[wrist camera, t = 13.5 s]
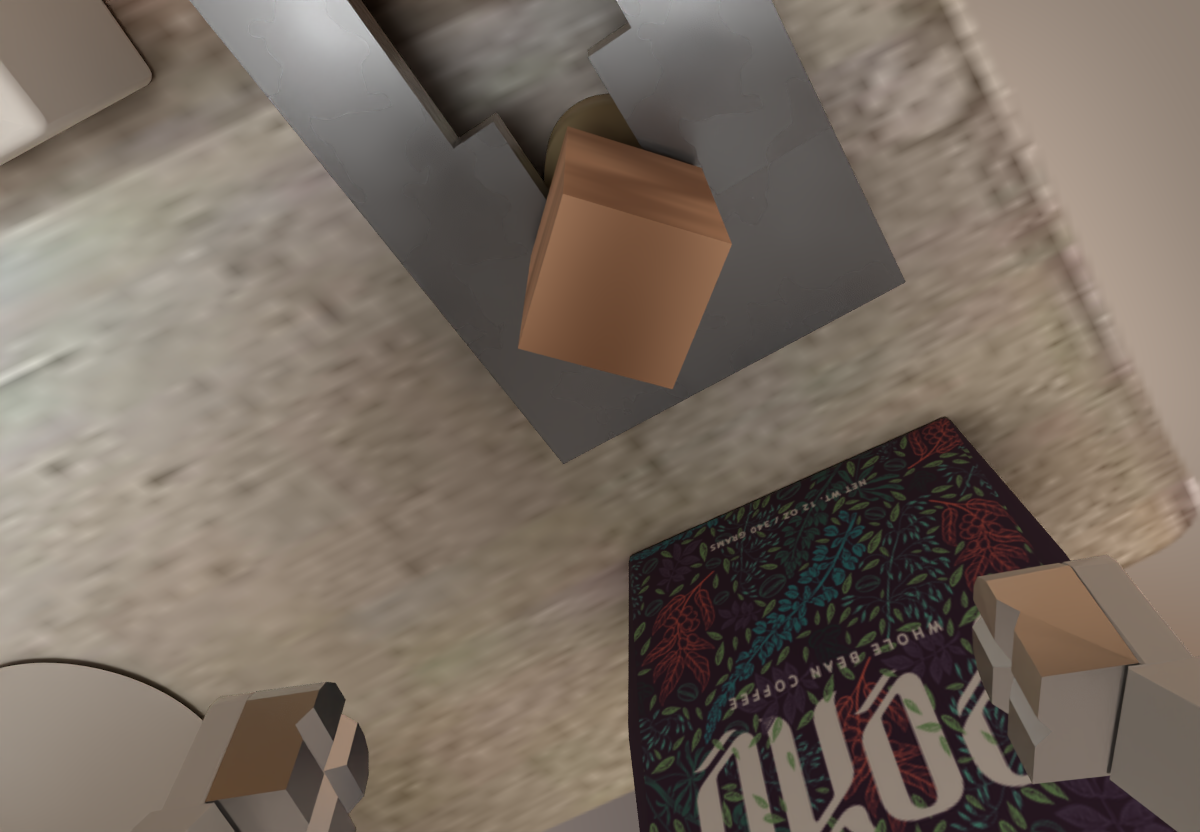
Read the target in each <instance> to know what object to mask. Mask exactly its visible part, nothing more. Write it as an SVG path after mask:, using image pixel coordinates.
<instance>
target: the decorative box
mask: <svg viewBox="0 0 1200 832" xmlns="http://www.w3.org/2000/svg"><path fill="white" fill-rule="evenodd" d="M1067 561H1070V559H1069V558H1068V557H1067V555H1066V554H1065V553H1064V551H1063V550H1062V549H1061V548H1060V547H1059V546H1058V545H1057V543H1056V542H1055V541H1054V540H1053V539H1052V538H1051V536H1050V535H1049V534H1048V533H1047V532H1046V531H1045V529H1044V528H1043V527H1042V526H1041V525H1040V524H1039V522H1038V521H1037V520H1036V519H1035V518H1034V517H1033V516H1032V514H1031V513H1030V512H1029V511H1028V510H1027V509H1026V507H1025V506H1024V505H1023V504H1022V503H1021V502H1020V500H1019V499H1018V498H1017V497H1016V496H1015V495H1014V494H1013V492H1012V491H1011V490H1010V489H1009V488H1008V487H1007V485H1006V484H1005V483H1004V482H1003V481H1002V480H1001V478H1000V477H999V476H998V475H997V474H996V473H995V472H994V470H993V469H992V468H991V467H990V466H989V465H988V463H987V462H986V461H985V460H984V459H983V458H982V456H981V455H980V454H979V453H978V452H977V451H976V450H975V448H974V447H973V446H972V445H971V444H970V443H969V441H968V440H967V439H966V438H965V437H964V436H963V434H962V433H961V432H960V431H959V430H958V429H957V427H956V426H955V425H954V424H953V423H952V422H951V421H950V420H949V419H947V418H942V419H939V420H937V421H935V422H932V423H930V424H928V425H926V426H923V427H921V428H919V429H917V430H914V431H912V432H910V433H908V434H905V435H903V436H901V437H899V438H896V439H894V440H892V441H890V442H887V443H885V444H883V445H880V446H878V447H876V448H874V449H871V450H869V451H867V452H865V453H862V454H860V455H858V456H856V457H853V458H851V459H849V460H847V461H844V462H842V463H840V464H838V465H835V466H833V467H831V468H828V469H826V470H824V471H822V472H819V473H817V474H815V475H813V476H810V477H808V478H806V479H804V480H801V481H799V482H797V483H795V484H792V485H790V486H788V487H786V488H783V489H781V490H779V491H777V492H774V493H772V494H770V495H767V496H765V497H763V498H761V499H758V500H756V501H754V502H752V503H749V504H747V505H745V506H743V507H740V508H738V509H736V510H734V511H731V512H729V513H727V514H725V515H722V516H720V517H718V518H715V519H713V520H711V521H709V522H706V523H704V524H702V525H700V526H697V527H695V528H693V529H691V530H688V531H686V532H684V533H682V534H679V535H677V536H675V537H673V538H670V539H668V540H666V541H663V542H661V543H659V544H657V545H654V546H652V547H650V548H648V549H645V550H643V551H641V552H639V553H636V554H634V555H632V556H631V557H630V560H629V684H628V728H629V743H630V751H631V760H632V768H633V777H634V785H635V794H636V802H637V811H638V819H639V828H640V832H1177V831H1176V830H1175V829H1173V828H1172V827H1171V826H1169V825H1168V824H1167V823H1165V822H1164V821H1163V820H1162V819H1160V818H1159V817H1158V816H1156V815H1155V814H1154V813H1153V812H1151V811H1150V810H1149V809H1147V808H1146V807H1145V806H1143V805H1142V804H1141V803H1140V802H1138V801H1137V800H1136V799H1134V798H1133V797H1132V796H1131V795H1129V794H1128V793H1127V792H1125V791H1124V790H1123V789H1121V788H1120V787H1119V786H1118V785H1116V784H1115V783H1114V782H1112V781H1111V780H1110V776H1102V777H1092V778H1083V779H1074V780H1065V781H1056V782H1047V783H1038V784H1032V782H1031V780H1030V778H1029V776H1028V774H1027V773H1026V771H1025V769H1024V767H1023V765H1022V763H1021V761H1020V759H1019V757H1018V755H1017V753H1016V751H1015V749H1014V747H1013V745H1012V743H1011V741H1010V739H1009V737H1008V715H1009V714H1007V713H1006V712H1004V711H1003V710H1001V709H1000V708H998V707H996V706H995V705H993V704H992V703H991V701H990V699H989V696H988V694H987V692H986V690H985V688H984V686H983V683H982V681H981V678H980V675H979V672H978V670H977V665H976V660H975V655H974V650H973V626H974V625H975V623H976V622H977V621H978V620H979V619H980V618H981V614H980V612H979V610H978V608H977V607H976V605H975V603H974V601H973V594H974V584H975V581H976V579H977V577H979V576H984V575H990V574H996V573H1002V572H1008V571H1014V570H1020V569H1025V568H1031V567H1037V566H1043V565H1049V564H1055V563H1061V564H1062V563H1063V562H1067Z"/></svg>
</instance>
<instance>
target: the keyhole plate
mask: <svg viewBox="0 0 1200 832" xmlns="http://www.w3.org/2000/svg"><path fill="white" fill-rule="evenodd" d="M616 1H617V3H618V5H619V7H620V8H621V10H622V12H623V14H624V15H625V17H626V19H627V21H628V23H626V24H625V25H624V26H622V27H621V28H619V29H618V30H616V31H615V32H613V33H612V34H610V35H609V36H607V37H606V38H605V39H603V40H602V41H600V42H599V43H597V44H596V45H594V46H593V47H591V48H590V49H588V59H589V60H590V62H591V64H592V65H593V67H594V69H595V70H596V72H597V74H598V75H599V77H600V79H601V80H602V82H603V84H604V85H605V87H606V89H607V90H608V92H609V94H610V95H611V97H612V99H613V100H614V102H615V104H616V105H617V107H618V109H619V110H620V112H621V114H622V115H623V117H624V119H625V120H626V122H627V124H628V125H629V127H630V129H631V130H632V132H633V134H634V135H635V137H636V139H637V140H638V142H639V144H640V145H641V147H642V149H643V150H646V151H649V152H652V153H655V154H658V155H662V156H665V157H668V158H671V159H675V160H678V161H681V162H684V163H687V164H691V165H694V166H697V167H700V168H702V170H703V172H704V175H705V177H706V180H707V182H708V185H709V188H710V190H711V193H712V195H713V198H714V200H715V203H716V205H717V208H718V210H719V213H720V215H721V218H722V220H723V223H724V225H725V228H726V230H727V233H728V235H729V238H730V240H731V243H732V245H731V248H730V250H729V253H728V255H727V257H726V260H725V262H724V265H723V267H722V270H721V272H720V275H719V277H718V280H717V282H716V284H715V287H714V289H713V292H712V294H711V297H710V299H709V302H708V304H707V306H706V309H705V311H704V314H703V316H702V319H701V321H700V324H699V326H698V328H697V331H696V333H695V336H694V338H693V341H692V343H691V346H690V348H689V350H688V353H687V355H686V358H685V360H684V363H683V365H682V368H681V370H680V372H679V375H678V377H677V380H676V382H675V385H674V387H673V389H670V388H666V387H662V386H658V385H654V384H651V383H647V382H643V381H639V380H635V379H632V378H628V377H624V376H620V375H616V374H613V373H609V372H605V371H601V370H598V369H594V368H590V367H586V366H582V365H579V364H575V363H571V362H567V361H563V360H560V359H556V358H552V357H548V356H544V355H541V354H537V353H533V352H529V351H525V350H522V349H518V344H519V337H520V330H521V323H522V316H523V309H524V301H525V294H526V287H527V280H528V273H529V266H530V259H531V254H532V250H533V247H534V243H535V240H536V236H537V232H538V229H539V225H540V222H541V218H542V215H543V211H544V208H545V204H546V201H547V197H548V194H549V189H548V187H547V186H546V185H545V183H544V182H543V180H542V179H541V177H540V176H539V174H538V173H537V171H536V170H535V168H534V167H533V165H532V164H531V162H530V161H529V159H528V158H527V156H526V155H525V153H524V152H523V150H522V149H521V147H520V146H519V144H518V143H517V142H516V140H515V139H514V137H513V136H512V134H511V133H510V131H509V130H508V128H507V127H506V125H505V124H504V122H503V121H502V119H501V118H500V116H499V115H498V113H497V112H496V113H495V114H493V115H492V116H490V117H489V118H487V119H486V120H484V121H483V122H481V123H480V124H478V125H477V126H476V127H474V128H473V129H471V130H470V131H468V132H467V133H465V134H464V135H462V136H461V137H459V138H458V136H457V135H456V133H455V132H454V131H453V129H452V128H451V126H450V125H449V123H448V122H447V121H446V119H445V118H444V116H443V115H442V114H441V112H440V111H439V109H438V108H437V107H436V105H435V104H434V102H433V101H432V99H431V98H430V97H429V95H428V94H427V92H426V91H425V90H424V88H423V87H422V85H421V84H420V83H419V81H418V80H417V78H416V77H415V75H414V74H413V73H412V71H411V70H410V68H409V67H408V66H407V64H406V63H405V61H404V60H403V59H402V57H401V56H400V54H399V53H398V51H397V50H396V49H395V47H394V46H393V44H392V43H391V42H390V40H389V39H388V37H387V36H386V35H385V33H384V32H383V30H382V29H381V27H380V26H379V25H378V23H377V22H376V20H375V19H374V18H373V16H372V15H371V13H370V12H369V11H368V9H367V8H366V6H365V5H364V4H363V2H362V1H361V0H190V2H191V3H192V4H193V5H194V6H195V8H196V9H197V10H198V11H199V13H200V14H201V15H202V16H203V18H204V19H205V20H206V21H207V23H208V24H209V25H210V26H211V28H212V29H213V30H214V31H215V33H216V34H217V35H218V36H219V38H220V39H221V40H222V41H223V42H224V44H225V45H226V46H227V47H228V49H229V50H230V51H231V52H232V54H233V55H234V56H235V57H236V59H237V60H238V61H239V62H240V64H241V65H242V66H243V67H244V69H245V70H246V71H247V72H248V74H249V75H250V76H251V77H252V78H253V80H254V81H255V82H256V83H257V85H258V86H259V87H260V88H261V90H262V91H263V92H264V93H265V95H266V96H267V97H268V98H269V100H270V101H271V102H272V103H273V105H274V106H275V107H276V108H277V109H278V111H279V112H280V113H281V114H282V116H283V117H284V118H285V119H286V121H287V122H288V123H289V124H290V126H291V127H292V128H293V129H294V131H295V132H296V133H297V134H298V136H299V137H300V138H301V139H302V141H303V142H304V143H305V144H306V145H307V147H308V148H309V149H310V150H311V152H312V153H313V154H314V155H315V157H316V158H317V159H318V160H319V162H320V163H321V164H322V165H323V167H324V168H325V169H326V170H327V172H328V173H329V174H330V175H331V176H332V178H333V179H334V180H335V181H336V183H337V184H338V185H339V186H340V188H341V189H342V190H343V191H344V193H345V194H346V195H347V196H348V198H349V199H350V200H351V201H352V203H353V204H354V205H355V206H356V208H357V209H358V210H359V211H360V212H361V214H362V215H363V216H364V217H365V219H366V220H367V221H368V222H369V224H370V225H371V226H372V227H373V229H374V230H375V231H376V232H377V234H378V235H379V236H380V237H381V239H382V240H383V241H384V242H385V244H386V245H387V246H388V247H389V248H390V250H391V251H392V252H393V253H394V255H395V256H396V257H397V258H398V260H399V261H400V262H401V263H402V265H403V266H404V267H405V268H406V270H407V271H408V272H409V273H410V275H411V276H412V277H413V278H414V279H415V281H416V282H417V283H418V284H419V286H420V287H421V288H422V289H423V291H424V292H425V293H426V294H427V296H428V297H429V298H430V299H431V301H432V302H433V303H434V304H435V306H436V307H437V308H438V309H439V311H440V312H441V313H442V314H443V315H444V317H445V318H446V319H447V320H448V322H449V323H450V324H451V325H452V327H453V328H454V329H455V330H456V332H457V333H458V334H459V335H460V337H461V338H462V339H463V340H464V342H465V343H466V344H467V345H468V346H469V348H470V349H471V350H472V351H473V353H474V354H475V355H476V356H477V358H478V359H479V360H480V361H481V363H482V364H483V365H484V366H485V368H486V369H487V370H488V371H489V373H490V374H491V375H492V376H493V378H494V379H495V380H496V381H497V382H498V384H499V385H500V386H501V387H502V389H503V390H504V391H505V392H506V394H507V395H508V396H509V397H510V399H511V400H512V401H513V402H514V404H515V405H516V406H517V407H518V409H519V410H520V411H521V412H522V413H523V415H524V416H525V417H526V418H527V420H528V421H529V422H530V423H531V425H532V426H533V427H534V428H535V430H536V431H537V432H538V433H539V435H540V436H541V437H542V438H543V440H544V441H545V442H546V443H547V445H548V446H549V447H550V448H551V449H552V451H553V452H554V453H555V454H556V456H557V457H558V458H559V459H560V461H561V462H562V463H563V464H565V463H566V462H568V461H570V460H572V459H574V458H576V457H578V456H580V455H581V454H583V453H585V452H587V451H589V450H591V449H593V448H595V447H596V446H598V445H600V444H602V443H604V442H606V441H608V440H610V439H612V438H613V437H615V436H617V435H619V434H621V433H623V432H625V431H627V430H628V429H630V428H632V427H634V426H636V425H638V424H640V423H642V422H643V421H645V420H647V419H649V418H651V417H653V416H655V415H657V414H659V413H660V412H662V411H664V410H666V409H668V408H670V407H672V406H674V405H675V404H677V403H679V402H681V401H683V400H685V399H687V398H689V397H690V396H692V395H694V394H696V393H698V392H700V391H702V390H704V389H705V388H707V387H709V386H711V385H713V384H715V383H717V382H719V381H721V380H722V379H724V378H726V377H728V376H730V375H732V374H734V373H736V372H737V371H739V370H741V369H743V368H745V367H747V366H749V365H751V364H752V363H754V362H756V361H758V360H760V359H762V358H764V357H766V356H768V355H769V354H771V353H773V352H775V351H777V350H779V349H781V348H783V347H784V346H786V345H788V344H790V343H792V342H794V341H796V340H798V339H799V338H801V337H803V336H805V335H807V334H809V333H811V332H813V331H815V330H816V329H818V328H820V327H822V326H824V325H826V324H828V323H830V322H831V321H833V320H835V319H837V318H839V317H841V316H843V315H845V314H846V313H848V312H850V311H852V310H854V309H856V308H858V307H860V306H861V305H863V304H865V303H867V302H869V301H871V300H873V299H875V298H877V297H878V296H880V295H882V294H884V293H886V292H888V291H890V290H892V289H893V288H895V287H897V286H899V285H901V284H903V283H905V280H904V278H903V275H902V273H901V271H900V269H899V267H898V265H897V263H896V261H895V259H894V257H893V254H892V252H891V250H890V248H889V246H888V244H887V242H886V240H885V238H884V236H883V233H882V231H881V229H880V227H879V225H878V223H877V221H876V219H875V217H874V215H873V212H872V210H871V208H870V206H869V204H868V202H867V200H866V198H865V196H864V193H863V191H862V189H861V187H860V185H859V183H858V181H857V179H856V177H855V175H854V172H853V170H852V168H851V166H850V164H849V162H848V160H847V158H846V156H845V154H844V151H843V149H842V147H841V145H840V143H839V141H838V139H837V137H836V135H835V133H834V130H833V128H832V126H831V124H830V122H829V120H828V118H827V116H826V114H825V112H824V109H823V107H822V105H821V103H820V101H819V99H818V97H817V95H816V93H815V90H814V88H813V86H812V84H811V82H810V80H809V78H808V76H807V74H806V72H805V69H804V67H803V65H802V63H801V61H800V59H799V57H798V55H797V53H796V51H795V48H794V46H793V44H792V42H791V40H790V38H789V36H788V34H787V32H786V30H785V27H784V25H783V23H782V21H781V19H780V17H779V15H778V13H777V11H776V8H775V6H774V4H773V2H772V0H616Z"/></svg>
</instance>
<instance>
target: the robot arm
mask: <svg viewBox="0 0 1200 832" xmlns="http://www.w3.org/2000/svg"><path fill="white" fill-rule="evenodd" d="M973 601H974V603H975V605H976V607H977V608H978V610H979V612H980V614H981V618H980V619H979V620H978V621H977V622H976V623H975V625H974V626H973V650H974V655H975V660H976V665H977V670H978V672H979V675H980V678H981V681H982V683H983V686H984V688H985V690H986V692H987V694H988V696H989V699H990V701H991V703H992V704H993V705H995V706H996V707H998V708H1000V709H1001V710H1003V711H1004V712H1006V713H1007V714H1009V715H1008V737H1009V739H1010V741H1011V743H1012V745H1013V747H1014V749H1015V751H1016V753H1017V755H1018V757H1019V759H1020V761H1021V763H1022V765H1023V767H1024V769H1025V771H1026V773H1027V774H1028V776H1029V778H1030V780H1031V782H1032V784H1038V783H1047V782H1056V781H1065V780H1074V779H1083V778H1092V777H1102V776H1110V780H1111V781H1112V782H1114V783H1115V784H1116V785H1118V786H1119V787H1120V788H1121V789H1123V790H1124V791H1125V792H1127V793H1128V794H1129V795H1131V796H1132V797H1133V798H1134V799H1136V800H1137V801H1138V802H1140V803H1141V804H1142V805H1143V806H1145V807H1146V808H1147V809H1149V810H1150V811H1151V812H1153V813H1154V814H1155V815H1156V816H1158V817H1159V818H1160V819H1162V820H1163V821H1164V822H1165V823H1167V824H1168V825H1169V826H1171V827H1172V828H1173V829H1175V830H1176V831H1177V832H1200V656H1196V657H1193V655H1192V654H1191V653H1190V652H1189V650H1188V649H1187V648H1186V647H1185V646H1184V644H1183V643H1182V642H1181V640H1180V639H1179V638H1178V637H1177V635H1176V634H1175V633H1174V632H1173V630H1172V629H1171V628H1170V627H1169V625H1168V624H1167V623H1166V622H1165V620H1164V619H1163V618H1162V617H1161V615H1160V614H1159V613H1158V612H1157V610H1156V609H1155V608H1154V607H1153V605H1152V604H1151V603H1150V602H1149V600H1148V599H1147V598H1146V597H1145V595H1144V594H1143V593H1142V592H1141V590H1140V589H1139V588H1138V587H1137V585H1136V584H1135V583H1134V582H1133V581H1132V579H1131V578H1130V577H1129V575H1128V574H1127V573H1126V572H1125V570H1124V569H1123V568H1122V567H1121V565H1120V564H1119V563H1118V562H1117V560H1116V559H1114V558H1112V557H1110V556H1108V555H1102V556H1096V557H1090V558H1085V559H1079V560H1073V561H1067V562H1063V563H1062V564H1061V563H1055V564H1049V565H1043V566H1037V567H1031V568H1025V569H1020V570H1014V571H1008V572H1002V573H996V574H990V575H984V576H979V577H977V579H976V581H975V584H974V594H973ZM344 703H345V698H344V696H343V695H342V693H341V691H340V690H339V688H338V686H337V685H336V683H331V682H323V683H315V684H308V685H300V686H293V687H285V688H278V689H270V690H263V691H256V692H253V693H246V694H238V695H231V696H223V697H219V698H218V699H217V700H216V701H215V702H214V703H213V704H212V705H211V706H210V707H209V709H208V711H207V713H206V715H205V717H204V720H203V721H202V720H201V719H200V718H199V717H198V716H197V715H196V714H195V713H193V712H192V711H191V710H190V709H188V708H187V707H186V706H184V705H183V704H181V703H180V702H178V701H177V700H175V699H174V698H172V697H170V696H169V695H167V694H165V693H163V692H161V691H159V690H157V689H155V688H153V687H151V686H149V685H147V684H144V683H142V682H140V681H137V680H134V679H132V678H129V677H126V676H123V675H120V674H116V673H113V672H109V671H105V670H101V669H97V668H92V667H87V666H80V665H73V664H62V663H29V664H19V665H12V666H7V667H3V668H0V832H355V831H356V827H355V825H354V823H353V822H352V820H351V818H350V816H349V812H350V811H351V810H352V809H353V808H354V807H355V806H356V804H357V803H358V802H359V801H360V800H361V799H362V797H363V796H364V793H365V789H366V784H367V780H368V775H369V771H368V748H367V744H366V740H365V736H364V734H363V732H362V730H361V728H360V726H359V724H358V722H356V721H354V720H353V719H351V718H349V717H347V716H345V715H344V714H342V710H343V707H344Z"/></svg>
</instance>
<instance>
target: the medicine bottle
mask: <svg viewBox="0 0 1200 832" xmlns="http://www.w3.org/2000/svg"><path fill="white" fill-rule="evenodd" d="M151 79H152V73H151V71H150V69H149V67H148V66H147V64H146V63H145V61H144V60H143V58H142V57H141V56H140V54H139V53H138V51H137V50H136V48H135V47H134V46H133V44H132V43H131V41H130V40H129V38H128V37H127V35H126V34H125V33H124V31H123V30H122V28H121V27H120V25H119V24H118V23H117V21H116V20H115V18H114V17H113V15H112V14H111V12H110V11H109V10H108V8H107V7H106V5H105V4H104V2H103V1H102V0H0V165H2V164H4V163H6V162H8V161H10V160H11V159H13V158H15V157H17V156H19V155H21V154H22V153H24V152H26V151H28V150H30V149H32V148H33V147H35V146H37V145H39V144H41V143H42V142H44V141H46V140H48V139H50V138H52V137H53V136H55V135H57V134H59V133H61V132H63V131H64V130H66V129H68V128H70V127H72V126H74V125H75V124H77V123H79V122H81V121H83V120H84V119H86V118H88V117H90V116H92V115H94V114H95V113H97V112H99V111H101V110H103V109H105V108H106V107H108V106H110V105H112V104H114V103H116V102H117V101H119V100H121V99H123V98H125V97H126V96H128V95H130V94H132V93H134V92H136V91H137V90H139V89H141V88H143V87H145V86H147V85H148V84H149V82H150V81H151Z"/></svg>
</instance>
